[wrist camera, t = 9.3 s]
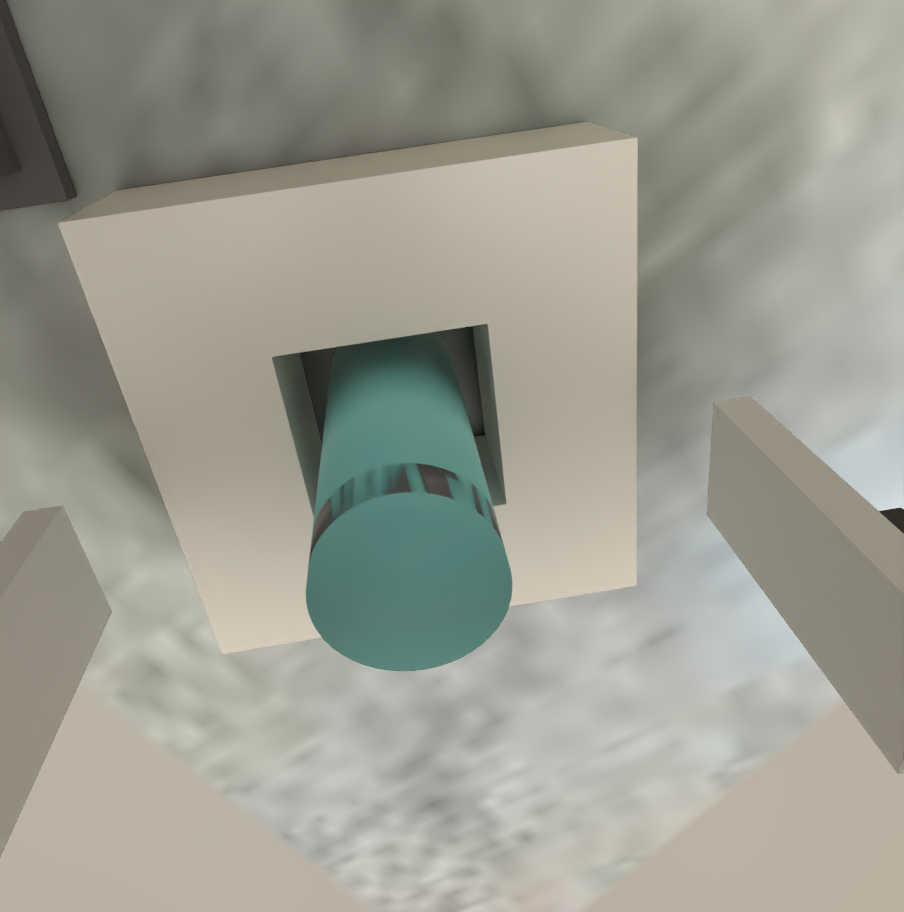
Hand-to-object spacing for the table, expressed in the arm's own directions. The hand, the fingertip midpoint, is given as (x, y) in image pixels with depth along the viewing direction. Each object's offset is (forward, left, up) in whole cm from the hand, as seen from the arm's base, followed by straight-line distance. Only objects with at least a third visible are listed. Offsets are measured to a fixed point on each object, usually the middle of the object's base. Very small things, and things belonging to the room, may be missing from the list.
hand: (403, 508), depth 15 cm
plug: (0, 0, -7) cm, 7 cm away
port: (0, 0, -7) cm, 7 cm away
